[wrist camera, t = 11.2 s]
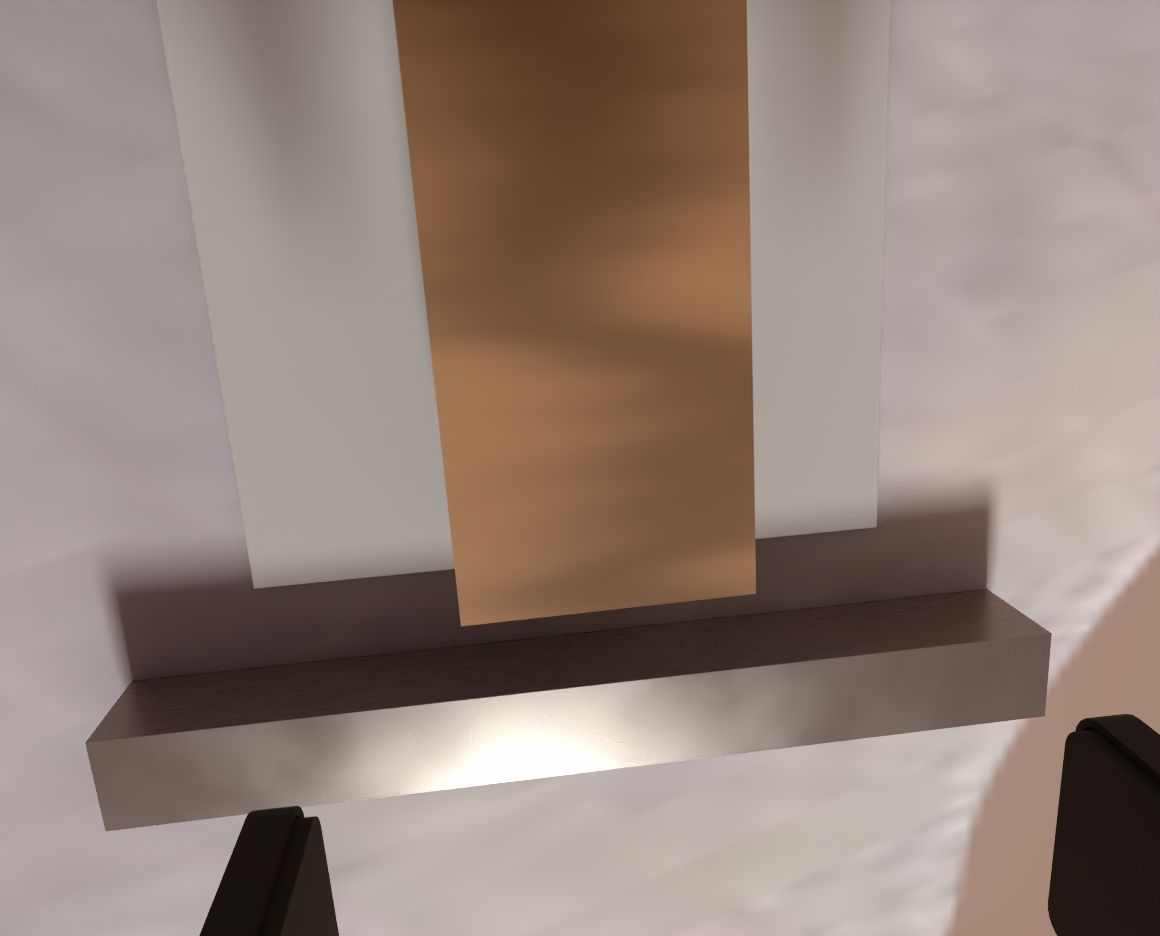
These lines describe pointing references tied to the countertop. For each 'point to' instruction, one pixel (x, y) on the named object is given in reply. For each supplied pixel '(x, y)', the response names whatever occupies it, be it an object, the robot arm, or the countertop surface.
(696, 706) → the steel bar
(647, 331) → the walnut block
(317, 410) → the mat
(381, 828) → the countertop surface
